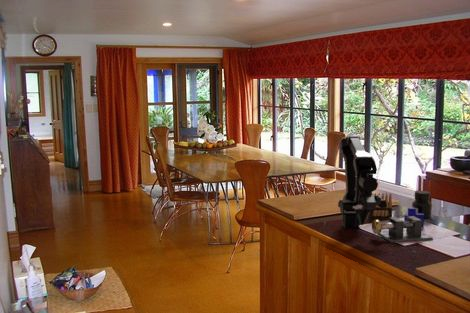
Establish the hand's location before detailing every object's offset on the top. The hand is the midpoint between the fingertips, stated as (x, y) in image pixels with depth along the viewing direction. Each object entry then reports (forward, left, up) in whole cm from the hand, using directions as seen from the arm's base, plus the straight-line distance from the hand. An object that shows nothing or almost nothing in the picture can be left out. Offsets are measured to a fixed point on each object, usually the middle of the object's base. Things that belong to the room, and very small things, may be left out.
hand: (361, 224), depth 205 cm
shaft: (+14, 0, -4) cm, 14 cm away
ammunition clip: (+23, +30, -7) cm, 38 cm away
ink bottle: (+43, +28, -7) cm, 52 cm away
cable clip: (+33, +18, -7) cm, 38 cm away
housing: (+19, 0, -6) cm, 20 cm away
